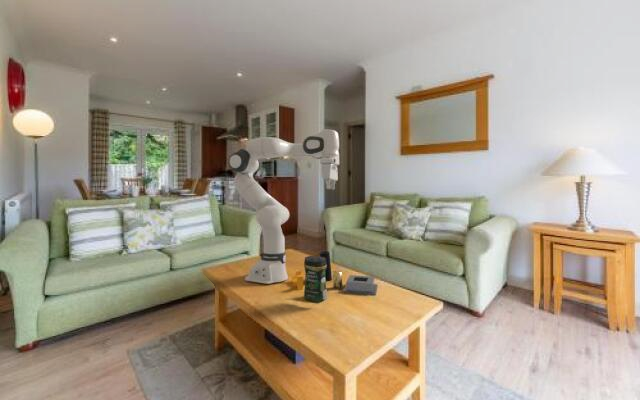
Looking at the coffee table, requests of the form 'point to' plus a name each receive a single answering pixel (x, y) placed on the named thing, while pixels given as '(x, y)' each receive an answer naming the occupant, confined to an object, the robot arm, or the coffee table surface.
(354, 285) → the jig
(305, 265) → the coffee jar
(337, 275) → the tan cylinder
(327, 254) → the pipe connector
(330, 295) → the coffee table surface
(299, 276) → the pipe clamp
